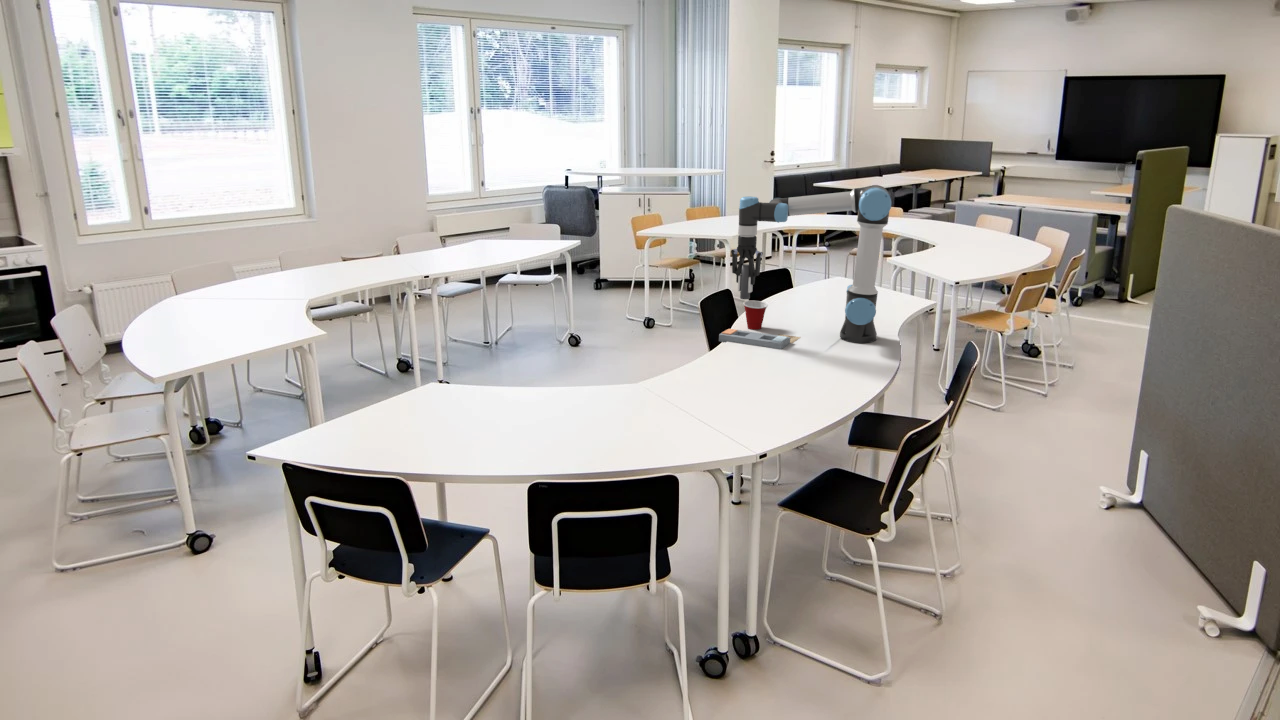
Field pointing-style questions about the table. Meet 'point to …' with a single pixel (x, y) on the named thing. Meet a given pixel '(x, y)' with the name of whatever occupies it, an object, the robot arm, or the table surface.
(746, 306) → the plastic cup
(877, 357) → the table surface
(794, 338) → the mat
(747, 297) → the plug
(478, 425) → the table surface
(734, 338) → the socket block
